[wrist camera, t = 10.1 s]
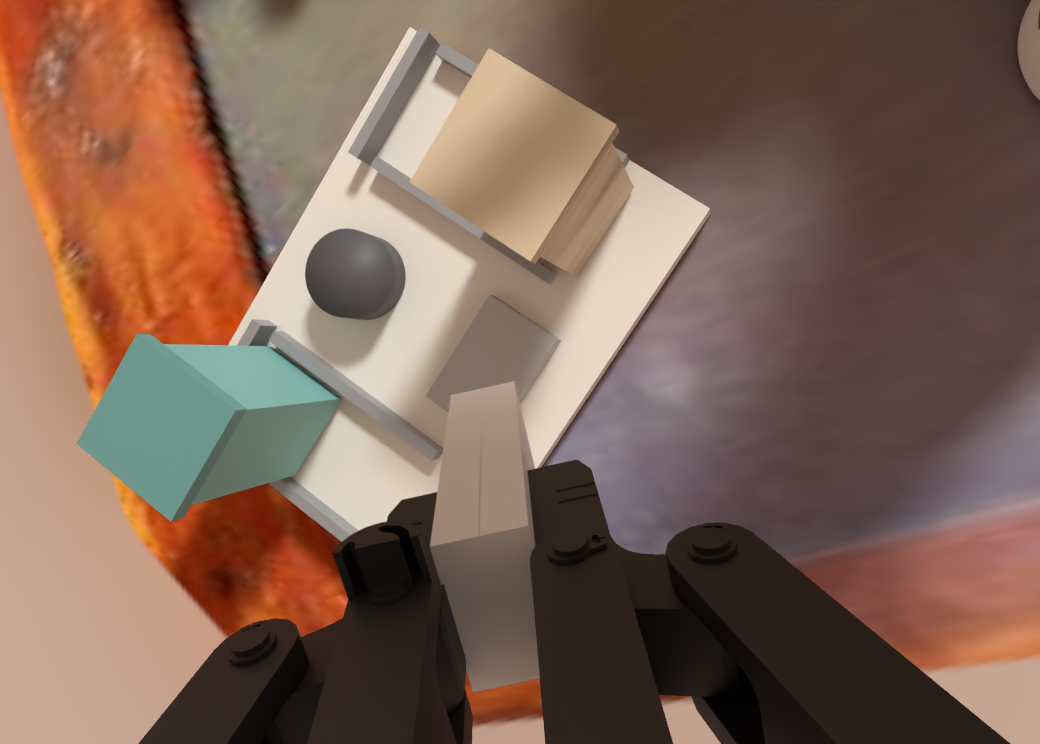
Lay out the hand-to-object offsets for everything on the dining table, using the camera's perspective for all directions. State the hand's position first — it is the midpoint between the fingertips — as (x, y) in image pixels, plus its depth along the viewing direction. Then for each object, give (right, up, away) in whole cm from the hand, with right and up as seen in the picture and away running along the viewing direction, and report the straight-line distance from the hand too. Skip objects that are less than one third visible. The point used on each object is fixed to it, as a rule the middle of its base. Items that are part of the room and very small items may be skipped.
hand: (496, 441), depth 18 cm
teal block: (-12, 0, +23) cm, 26 cm away
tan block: (+3, +10, +19) cm, 22 cm away
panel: (-4, +4, +23) cm, 24 cm away
